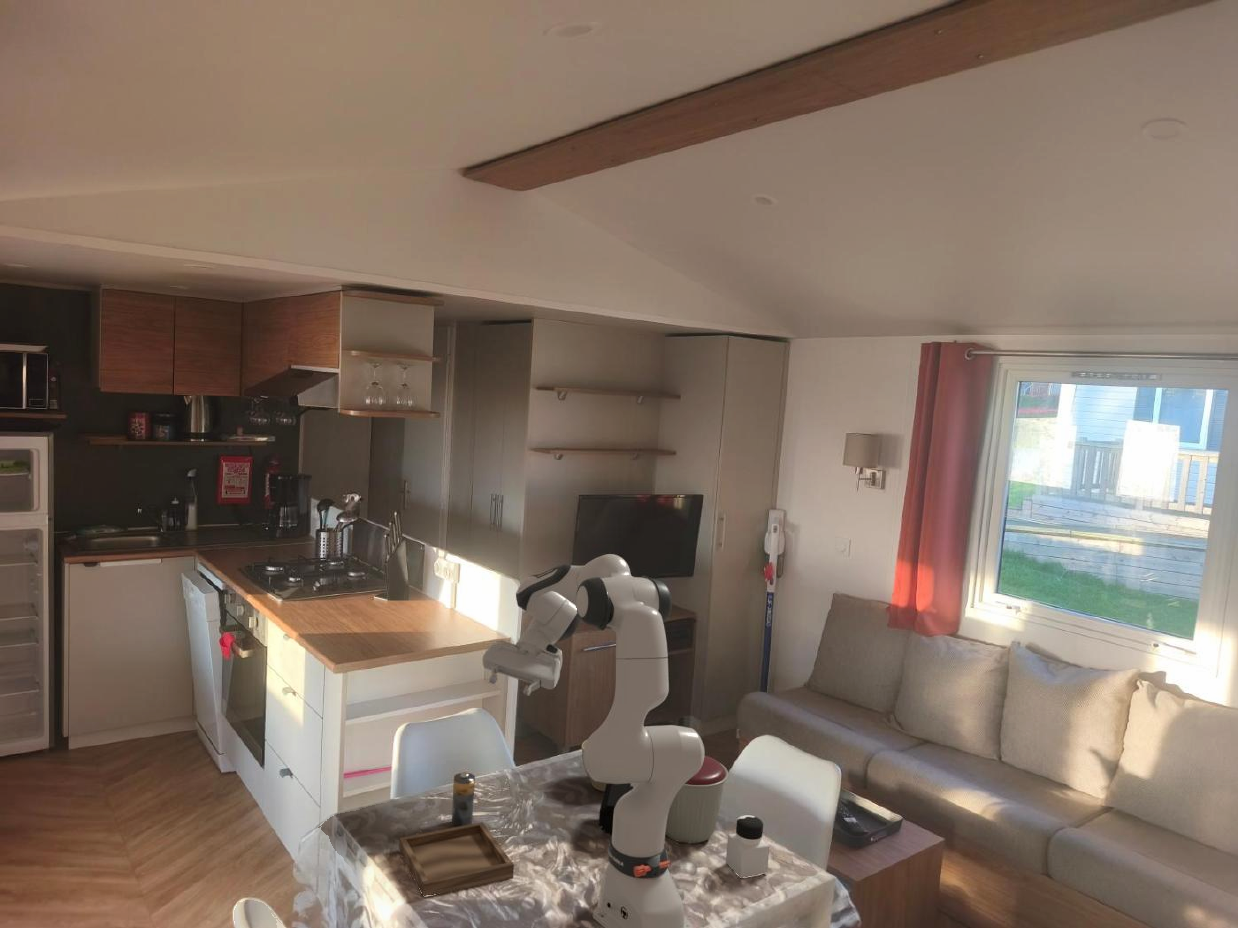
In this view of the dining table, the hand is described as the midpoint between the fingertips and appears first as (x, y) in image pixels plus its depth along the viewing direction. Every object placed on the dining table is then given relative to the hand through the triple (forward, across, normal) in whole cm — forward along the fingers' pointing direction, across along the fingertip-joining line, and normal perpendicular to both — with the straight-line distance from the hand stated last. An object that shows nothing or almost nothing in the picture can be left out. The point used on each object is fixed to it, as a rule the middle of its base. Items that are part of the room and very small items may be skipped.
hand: (508, 687), depth 214 cm
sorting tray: (+37, +5, +17) cm, 41 cm away
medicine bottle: (+12, +66, +20) cm, 70 cm away
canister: (+4, +50, +27) cm, 57 cm away
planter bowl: (-10, +25, +38) cm, 47 cm away
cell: (+23, -2, +26) cm, 34 cm away
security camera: (+9, +34, +27) cm, 44 cm away
